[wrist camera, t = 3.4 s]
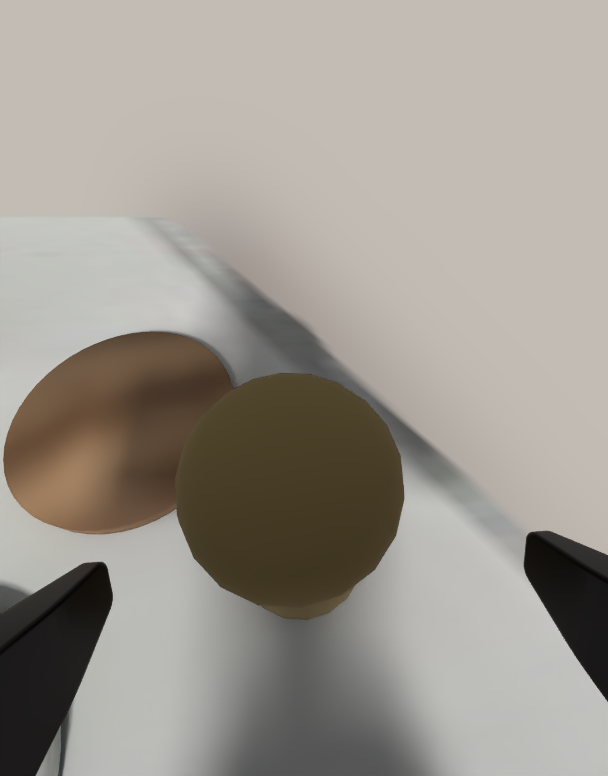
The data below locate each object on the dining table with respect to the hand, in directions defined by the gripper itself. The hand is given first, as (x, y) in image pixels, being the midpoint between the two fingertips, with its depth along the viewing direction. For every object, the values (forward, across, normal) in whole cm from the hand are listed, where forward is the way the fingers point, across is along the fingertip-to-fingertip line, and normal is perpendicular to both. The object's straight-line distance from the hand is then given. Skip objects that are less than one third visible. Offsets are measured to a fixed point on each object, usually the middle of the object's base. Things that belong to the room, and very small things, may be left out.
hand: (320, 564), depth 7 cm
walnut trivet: (+13, +10, 0) cm, 16 cm away
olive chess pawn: (+8, 0, +5) cm, 10 cm away
